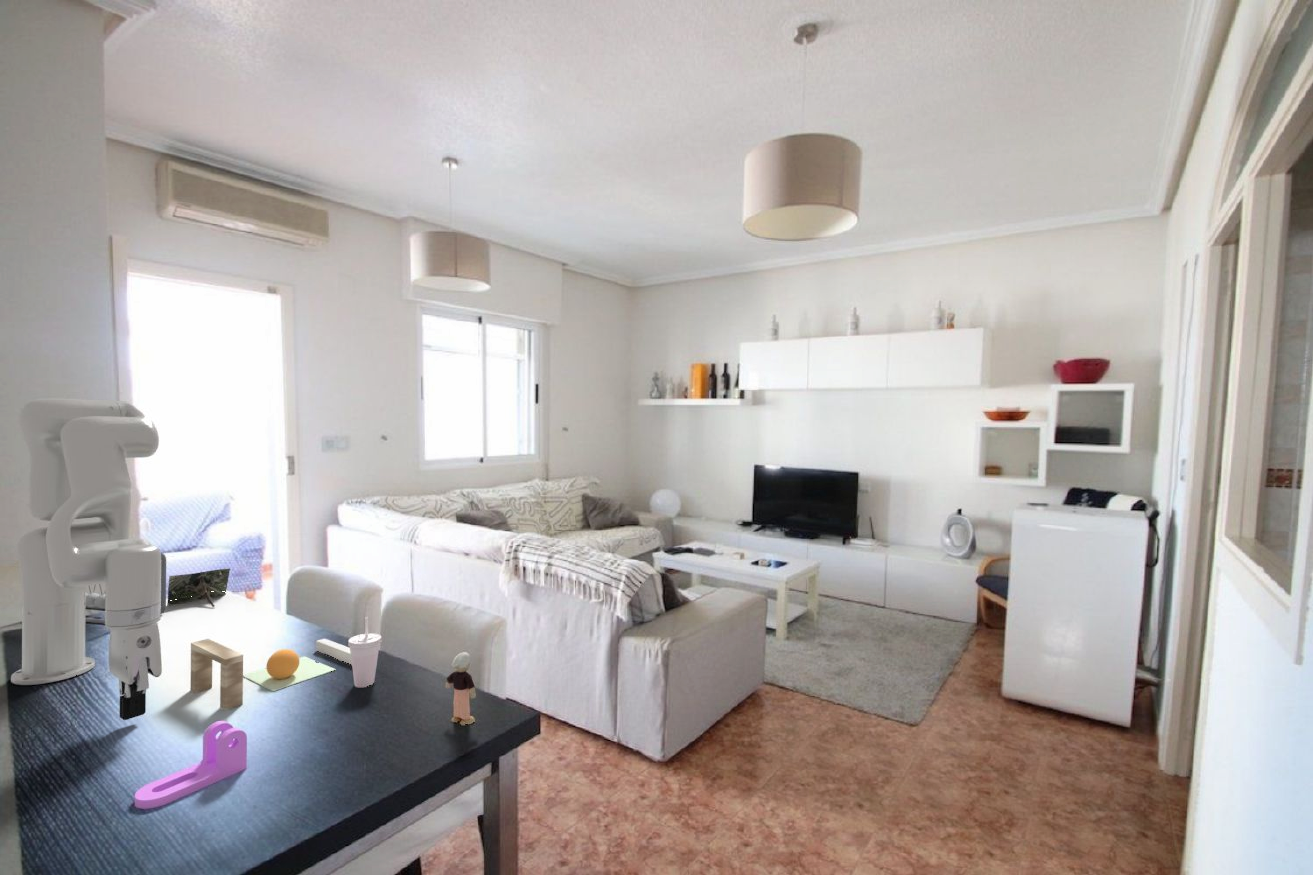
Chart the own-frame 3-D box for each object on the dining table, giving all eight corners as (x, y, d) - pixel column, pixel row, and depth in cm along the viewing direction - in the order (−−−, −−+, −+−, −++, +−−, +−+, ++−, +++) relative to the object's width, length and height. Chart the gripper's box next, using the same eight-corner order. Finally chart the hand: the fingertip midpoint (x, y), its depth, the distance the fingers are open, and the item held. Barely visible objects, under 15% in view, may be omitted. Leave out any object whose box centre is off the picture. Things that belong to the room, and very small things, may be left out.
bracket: (229, 759, 97) (229, 716, 97) (246, 769, 94) (247, 726, 94) (127, 801, 86) (128, 753, 86) (144, 814, 83) (144, 765, 83)
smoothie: (387, 678, 129) (388, 614, 128) (369, 691, 122) (370, 623, 122) (359, 676, 129) (360, 612, 129) (340, 689, 123) (341, 622, 123)
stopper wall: (316, 651, 143) (316, 640, 143) (324, 648, 144) (324, 638, 144) (354, 666, 134) (355, 655, 134) (363, 663, 136) (363, 652, 136)
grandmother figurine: (484, 718, 112) (485, 652, 112) (471, 728, 108) (473, 659, 108) (450, 711, 114) (451, 646, 114) (437, 720, 111) (438, 653, 111)
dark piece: (165, 605, 175) (179, 631, 168) (169, 576, 172) (184, 601, 165) (225, 593, 187) (240, 617, 180) (229, 566, 185) (246, 589, 177)
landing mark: (242, 676, 128) (242, 675, 128) (304, 657, 139) (304, 656, 139) (273, 691, 121) (273, 690, 121) (335, 670, 132) (335, 669, 132)
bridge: (224, 710, 113) (225, 659, 113) (190, 690, 121) (190, 642, 121) (242, 704, 115) (243, 654, 115) (207, 685, 123) (208, 638, 123)
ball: (284, 640, 130) (298, 660, 133) (256, 659, 126) (271, 680, 129) (295, 646, 127) (309, 667, 129) (266, 667, 123) (281, 688, 125)
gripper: (176, 617, 106) (175, 719, 106) (143, 602, 114) (142, 697, 114) (122, 628, 100) (121, 737, 100) (91, 612, 107) (90, 713, 108)
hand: (132, 715), depth 107 cm, fingers closed
